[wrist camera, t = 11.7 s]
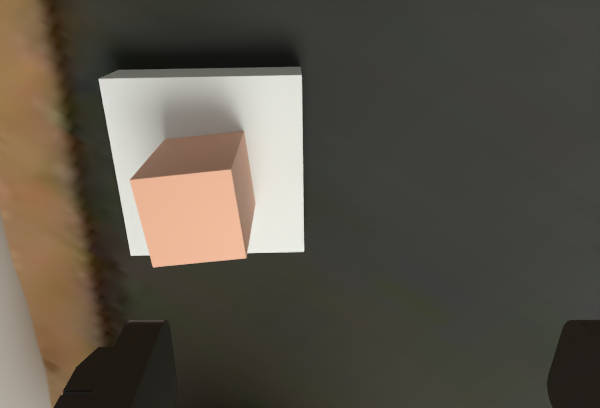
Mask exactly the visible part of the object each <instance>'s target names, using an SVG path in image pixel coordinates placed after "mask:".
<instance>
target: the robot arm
mask: <svg viewBox="0 0 600 408" xmlns="http://www.w3.org/2000/svg"><path fill="white" fill-rule="evenodd" d="M547 388H548V395H549V399H550V402H551V405H552V407H553V408H600V320H570V321H568V322H566V324H565V325H564V327H563V329H562V332H561V335H560V339H559V342H558V345H557V349H556V352H555V355H554V358H553V362H552V365H551V368H550V372H549V375H548V380H547ZM176 392H177V379H176V370H175V362H174V355H173V347H172V339H171V331H170V326H169V323H168V321H167V320H130V321H128V322H127V323H126V324H125V326H124V328H123V330H122V332H121V334H120V336H119V338H118V340H117V342H116V344H115V346H114V347H98V348H97V349H96V350H95V351H94V352H93V353H91V354H90V355H89V356H88V357H87V358H86V359H85V360H84V361H83V362H81V363H80V364H79V365H78V366H77V367H76V369H75V370H74V372H73V374H72V376H71V378H70V379H69V381H68V383H67V385H66V387H65V388H64V390H63V395H61V396H60V397H59V399H58V401H57V403H56V404H55V406H54V408H175V402H176Z"/></svg>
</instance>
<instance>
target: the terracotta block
mask: <svg viewBox="0 0 600 408" xmlns="http://www.w3.org/2000/svg"><path fill="white" fill-rule="evenodd" d="M130 184H131V187H132V191H133V195H134V198H135V202H136V206H137V210H138V213H139V217H140V221H141V224H142V228H143V232H144V236H145V239H146V243H147V247H148V250H149V254H150V258H151V262H152V265H153V267H161V266H171V265H182V264H192V263H202V262H212V261H222V260H232V259H242V258H246V257H247V251H248V245H249V240H250V234H251V228H252V222H253V216H254V210H255V205H256V204H255V197H254V191H253V184H252V178H251V172H250V165H249V159H248V152H247V146H246V139H245V133H244V131H239V132H229V133H220V134H210V135H201V136H191V137H182V138H173V139H164V141H163V142H162V143H161V144H160V145H159V146H158V148H157V149H156V150H155V151H154V152H153V153H152V155H151V156H150V157H149V158H148V159H147V160H146V161H145V163H144V164H143V165H142V166H141V167H140V168H139V170H138V171H137V172H136V173H135V174H134V175H133V177H132V178H131V179H130Z"/></svg>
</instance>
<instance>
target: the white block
mask: <svg viewBox="0 0 600 408" xmlns="http://www.w3.org/2000/svg"><path fill="white" fill-rule="evenodd" d="M99 84H100V90H101V95H102V101H103V106H104V112H105V117H106V122H107V128H108V133H109V139H110V144H111V150H112V155H113V161H114V166H115V172H116V177H117V183H118V188H119V193H120V199H121V204H122V210H123V215H124V221H125V226H126V232H127V237H128V243H129V248H130V253H131V256H138V255H150V254H149V250H148V247H147V243H146V239H145V236H144V232H143V228H142V224H141V221H140V217H139V213H138V210H137V206H136V202H135V198H134V195H133V191H132V187H131V184H130V179H131V178H132V177H133V175H134V174H135V173H136V172H137V171H138V170H139V168H140V167H141V166H142V165H143V164H144V163H145V161H146V160H147V159H148V158H149V157H150V156H151V155H152V153H153V152H154V151H155V150H156V149H157V148H158V146H159V145H160V144H161V143H162V142H163V141H164V139H173V138H182V137H191V136H201V135H210V134H220V133H229V132H239V131H244V133H245V139H246V146H247V152H248V159H249V165H250V172H251V178H252V184H253V191H254V197H255V204H256V205H255V210H254V216H253V222H252V228H251V234H250V240H249V245H248V251H247V253H272V252H304V206H303V128H302V73H301V67H258V68H201V69H144V70H117V71H115V72H113V73H110V74H108V75H106V76H104V77H101V78H99Z"/></svg>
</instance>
